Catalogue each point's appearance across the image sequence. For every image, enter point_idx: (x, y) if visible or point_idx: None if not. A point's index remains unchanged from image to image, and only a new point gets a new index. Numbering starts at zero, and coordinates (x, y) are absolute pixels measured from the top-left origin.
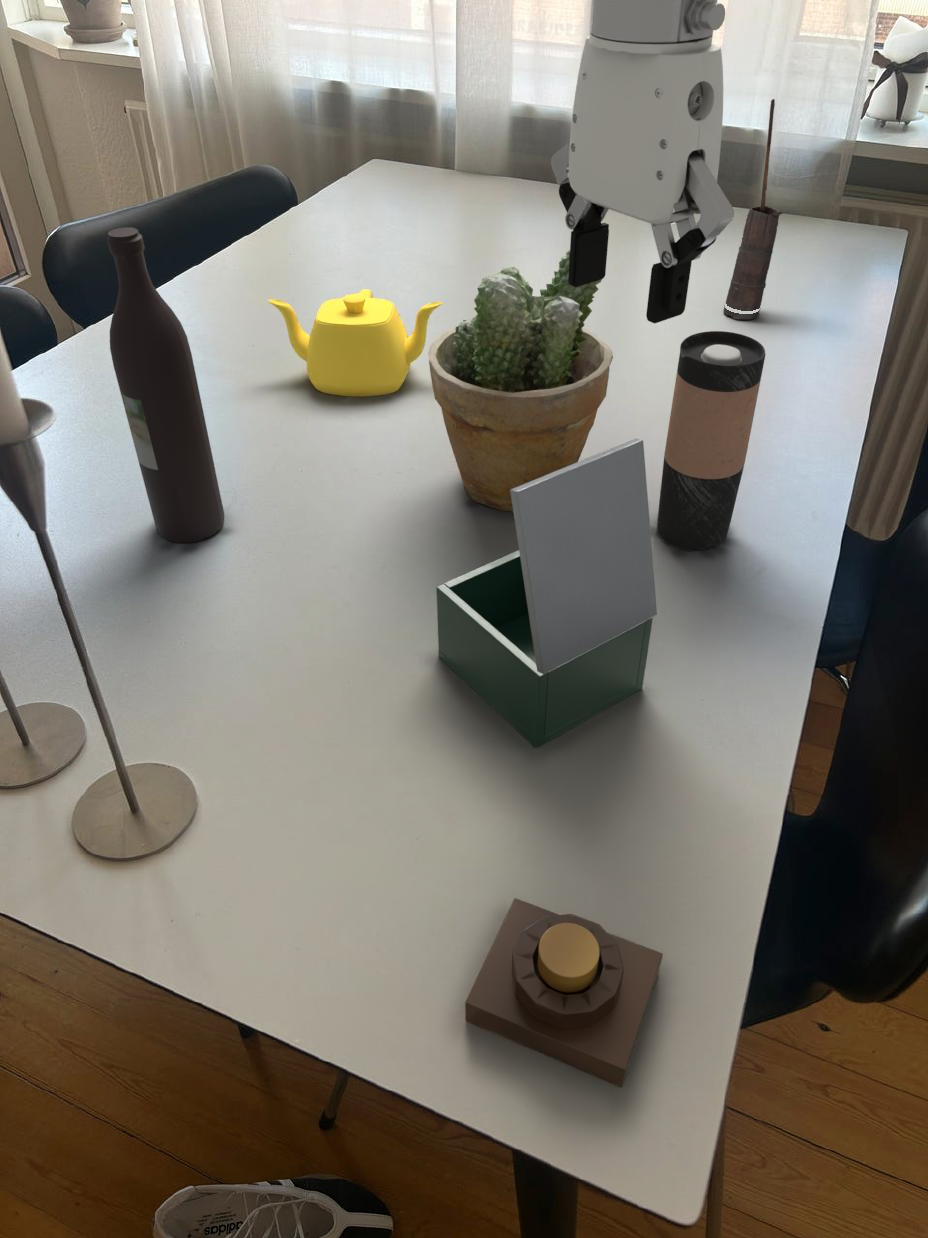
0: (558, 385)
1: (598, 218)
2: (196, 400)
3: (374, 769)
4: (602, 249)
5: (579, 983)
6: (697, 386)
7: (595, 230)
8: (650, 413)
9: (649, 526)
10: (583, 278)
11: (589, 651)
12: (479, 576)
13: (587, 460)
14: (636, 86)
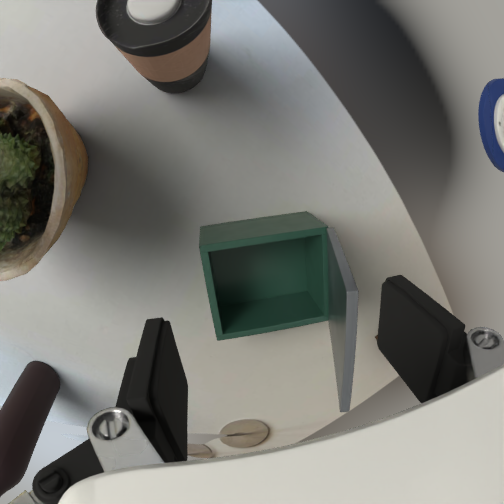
0: (33, 158)
1: (156, 444)
2: (17, 425)
3: (276, 363)
4: (166, 372)
5: None
6: (172, 52)
7: (169, 431)
8: (25, 16)
9: (343, 253)
10: (182, 376)
11: None
12: (218, 310)
13: (350, 353)
14: None
